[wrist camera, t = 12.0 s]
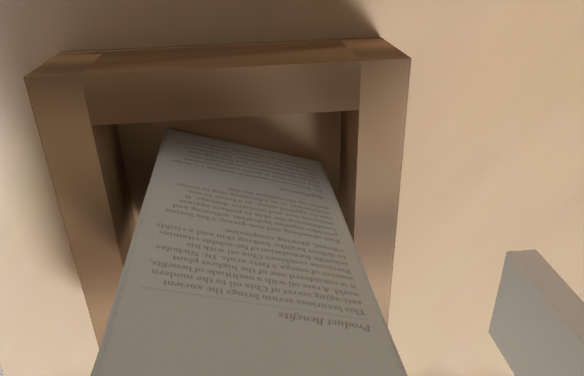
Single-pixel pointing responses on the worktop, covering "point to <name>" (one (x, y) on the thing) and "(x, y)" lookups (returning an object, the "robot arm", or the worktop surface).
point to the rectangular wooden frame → (220, 135)
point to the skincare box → (242, 273)
